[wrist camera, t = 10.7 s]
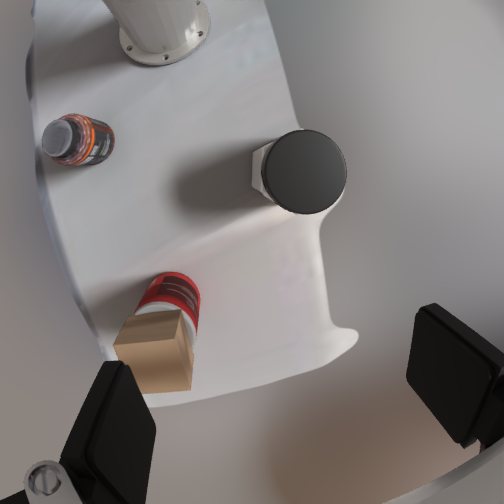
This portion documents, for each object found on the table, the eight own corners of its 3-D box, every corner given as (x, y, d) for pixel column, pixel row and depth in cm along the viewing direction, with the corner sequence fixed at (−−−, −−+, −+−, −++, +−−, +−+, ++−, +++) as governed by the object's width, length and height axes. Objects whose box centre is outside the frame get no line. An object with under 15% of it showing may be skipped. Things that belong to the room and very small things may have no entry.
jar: (235, 178, 38) (242, 183, 27) (269, 126, 37) (290, 110, 26) (293, 214, 40) (321, 233, 29) (325, 164, 39) (364, 164, 28)
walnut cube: (128, 315, 30) (112, 345, 25) (181, 308, 31) (174, 338, 25) (144, 361, 32) (133, 394, 26) (194, 355, 32) (190, 390, 27)
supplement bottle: (78, 124, 34) (36, 113, 23) (117, 119, 35) (82, 104, 24) (77, 166, 35) (33, 168, 25) (115, 163, 36) (79, 163, 25)
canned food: (152, 322, 43) (136, 365, 32) (143, 271, 40) (121, 305, 30) (203, 320, 43) (200, 364, 33) (198, 268, 41) (191, 302, 31)
